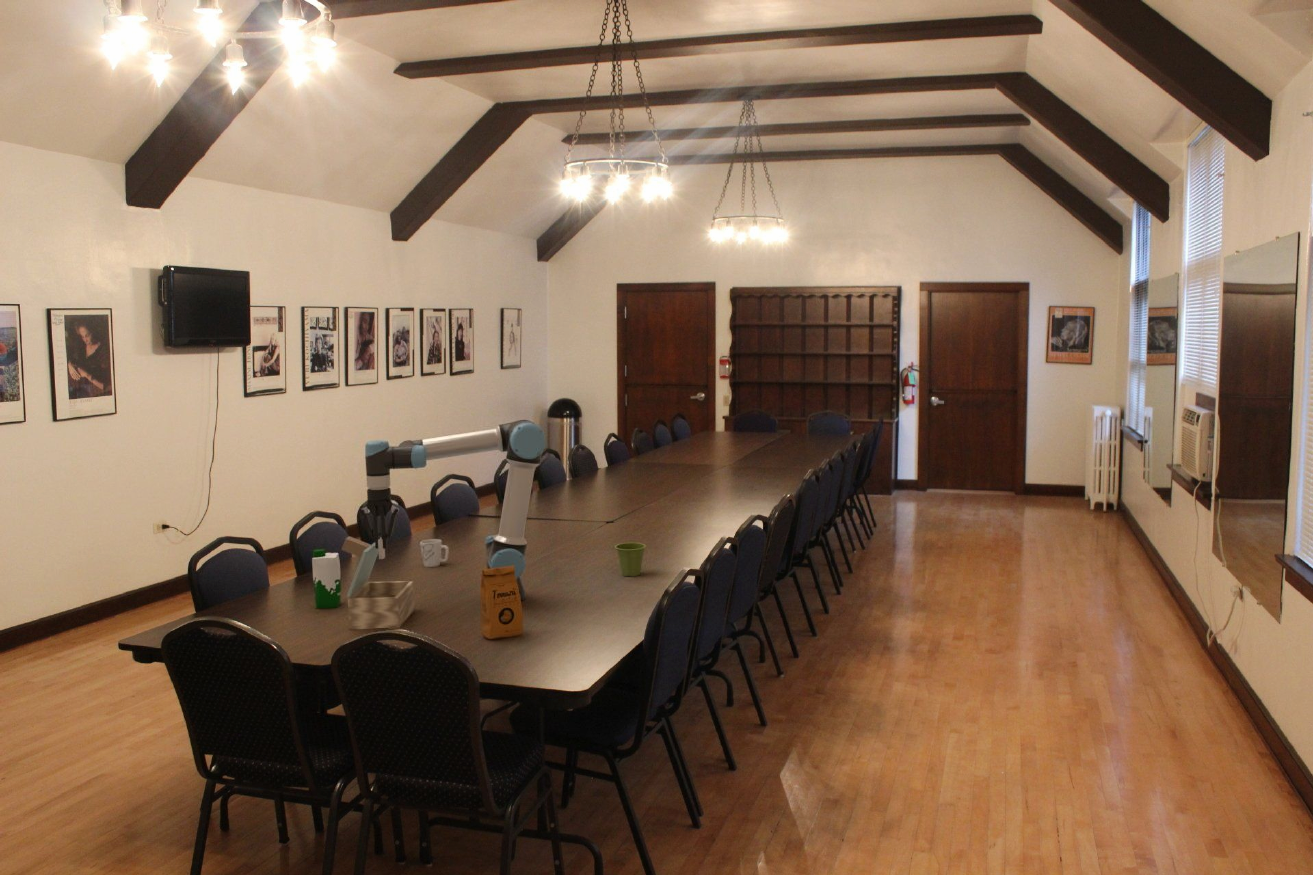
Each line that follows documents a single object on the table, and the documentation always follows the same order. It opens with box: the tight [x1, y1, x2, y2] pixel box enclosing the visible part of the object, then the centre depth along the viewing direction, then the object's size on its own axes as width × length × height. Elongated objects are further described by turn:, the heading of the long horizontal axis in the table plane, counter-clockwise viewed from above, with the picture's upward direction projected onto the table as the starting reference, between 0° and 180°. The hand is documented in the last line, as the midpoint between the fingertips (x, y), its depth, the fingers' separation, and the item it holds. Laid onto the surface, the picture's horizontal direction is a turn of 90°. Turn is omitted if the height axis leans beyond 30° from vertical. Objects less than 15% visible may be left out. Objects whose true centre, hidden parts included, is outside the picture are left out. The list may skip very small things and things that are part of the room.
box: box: [347, 580, 416, 630], centre depth 348 cm, size 16×22×10 cm
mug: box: [419, 538, 450, 568], centre depth 424 cm, size 11×8×10 cm
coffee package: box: [479, 566, 524, 640], centre depth 327 cm, size 10×12×22 cm
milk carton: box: [311, 548, 342, 610], centre depth 366 cm, size 9×9×20 cm
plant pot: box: [614, 542, 647, 577], centre depth 402 cm, size 12×12×11 cm
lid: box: [340, 535, 379, 598], centre depth 347 cm, size 16×21×10 cm
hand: (381, 558), depth 346 cm, fingers closed
